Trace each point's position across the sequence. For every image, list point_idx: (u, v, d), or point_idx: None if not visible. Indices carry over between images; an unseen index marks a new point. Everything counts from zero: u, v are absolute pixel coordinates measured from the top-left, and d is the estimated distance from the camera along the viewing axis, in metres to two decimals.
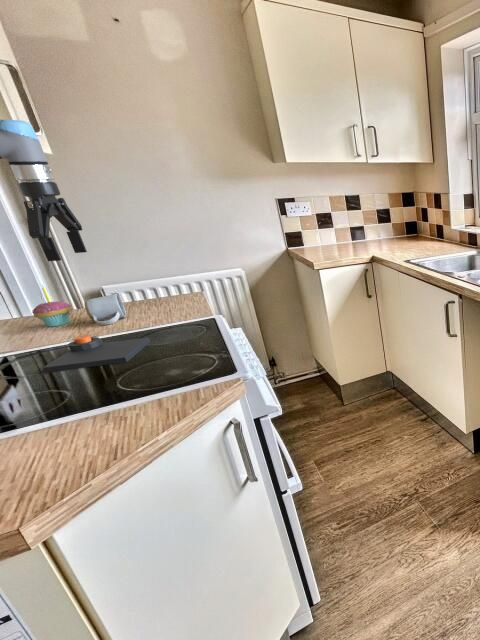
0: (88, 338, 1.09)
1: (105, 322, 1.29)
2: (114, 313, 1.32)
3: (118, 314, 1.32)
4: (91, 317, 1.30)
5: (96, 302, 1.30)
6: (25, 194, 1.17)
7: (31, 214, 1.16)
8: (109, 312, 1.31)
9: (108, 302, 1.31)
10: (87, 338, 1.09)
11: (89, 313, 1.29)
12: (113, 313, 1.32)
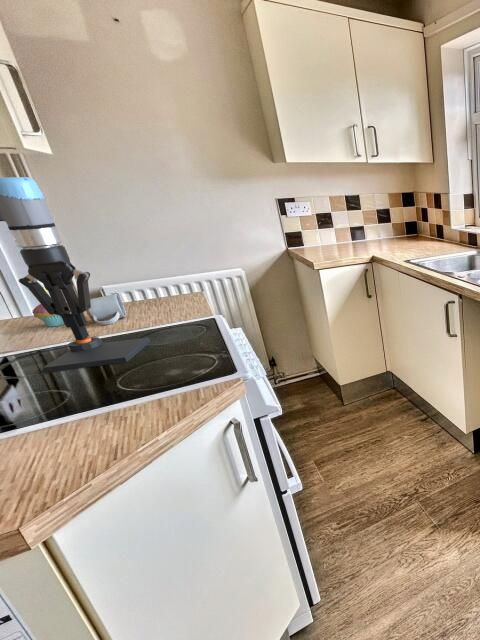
0: (89, 340, 1.09)
1: (105, 322, 1.29)
2: (114, 313, 1.32)
3: (118, 314, 1.32)
4: (91, 317, 1.30)
5: (95, 302, 1.30)
6: (60, 260, 1.01)
7: (85, 287, 1.05)
8: (109, 312, 1.31)
9: (108, 302, 1.31)
10: (88, 340, 1.09)
11: (89, 313, 1.29)
12: (113, 313, 1.32)
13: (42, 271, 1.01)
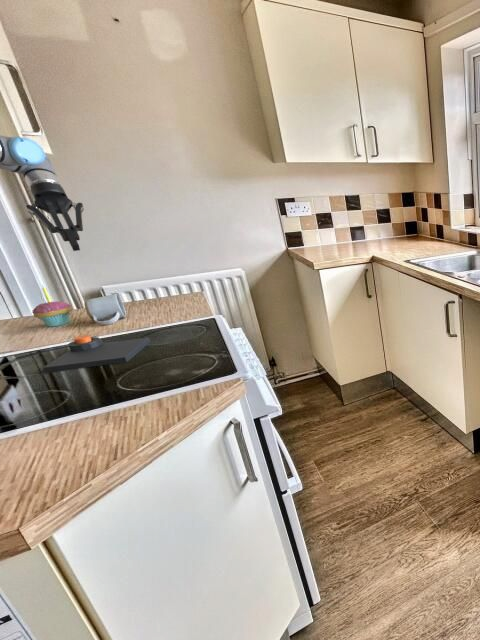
0: (88, 338, 1.09)
1: (105, 322, 1.29)
2: (114, 313, 1.32)
3: (118, 314, 1.32)
4: (91, 317, 1.30)
5: (95, 302, 1.30)
6: (64, 192, 1.36)
7: (81, 213, 1.37)
8: (109, 312, 1.31)
9: (108, 302, 1.31)
10: (87, 338, 1.09)
11: (89, 313, 1.29)
12: (113, 313, 1.32)
13: None
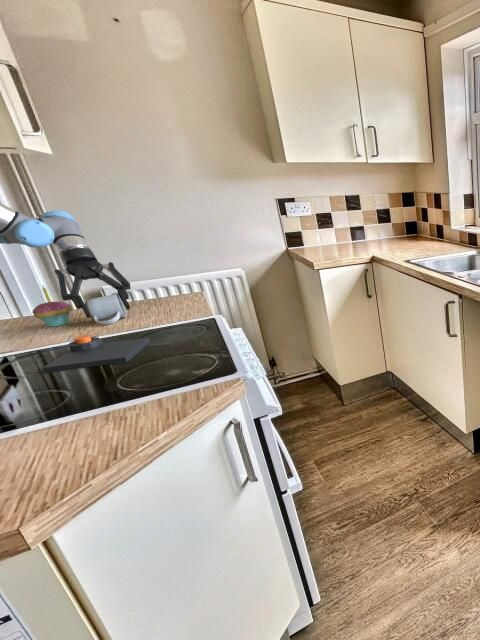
0: (88, 338, 1.09)
1: (106, 322, 1.29)
2: (115, 313, 1.32)
3: (119, 314, 1.32)
4: (92, 317, 1.30)
5: (96, 301, 1.30)
6: (94, 256, 1.34)
7: None
8: (110, 312, 1.31)
9: (109, 302, 1.31)
10: (87, 338, 1.09)
11: (90, 313, 1.29)
12: (114, 313, 1.32)
13: None
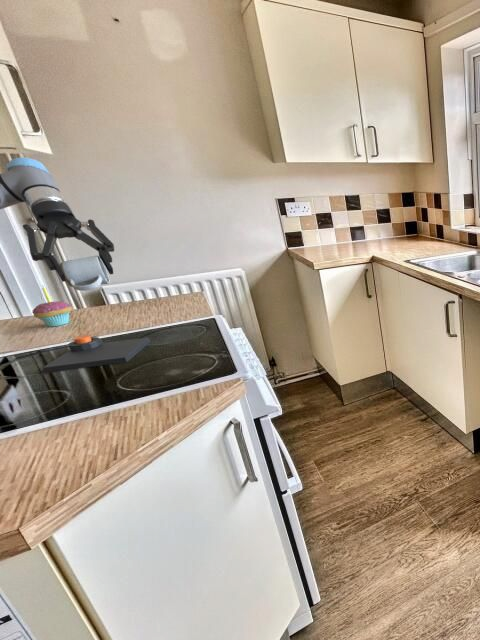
0: (88, 338, 1.09)
1: (84, 287, 1.10)
2: (95, 277, 1.13)
3: (100, 279, 1.13)
4: (68, 281, 1.10)
5: (73, 263, 1.10)
6: (71, 212, 1.15)
7: None
8: (89, 276, 1.12)
9: (89, 265, 1.12)
10: (87, 338, 1.09)
11: (65, 277, 1.09)
12: (94, 277, 1.13)
13: None
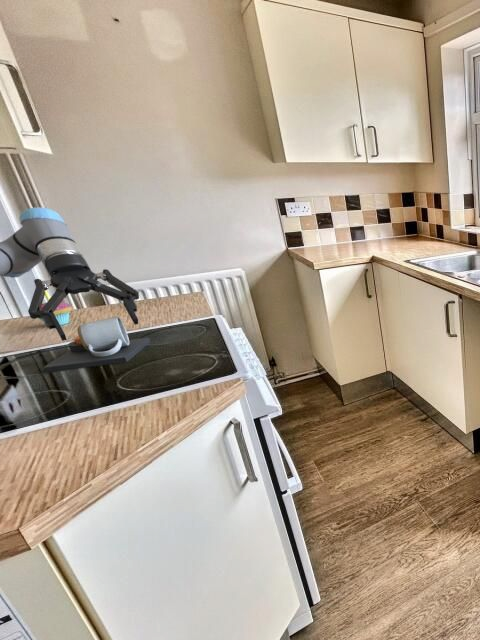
0: None
1: (104, 353, 1.03)
2: (115, 341, 1.06)
3: (120, 342, 1.07)
4: (86, 346, 1.04)
5: (92, 327, 1.04)
6: (86, 265, 1.08)
7: None
8: (109, 340, 1.06)
9: (108, 328, 1.05)
10: None
11: (83, 342, 1.03)
12: (114, 341, 1.06)
13: None
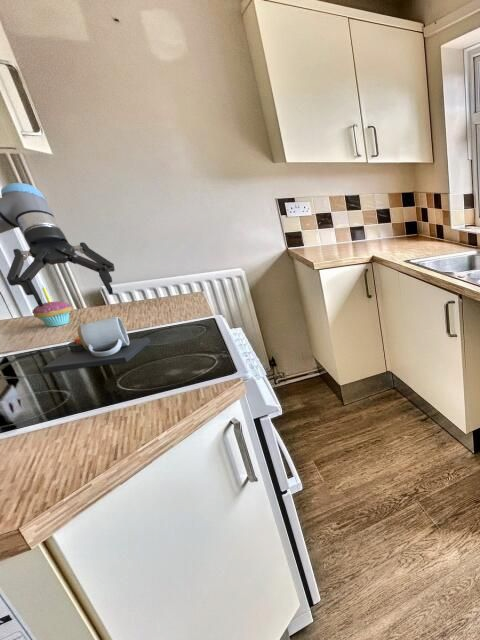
0: None
1: (104, 353, 1.03)
2: (115, 341, 1.06)
3: (120, 342, 1.07)
4: (86, 346, 1.04)
5: (92, 327, 1.04)
6: (64, 237, 1.14)
7: None
8: (109, 340, 1.06)
9: (108, 328, 1.05)
10: None
11: (83, 342, 1.03)
12: (114, 341, 1.06)
13: (47, 249, 1.11)
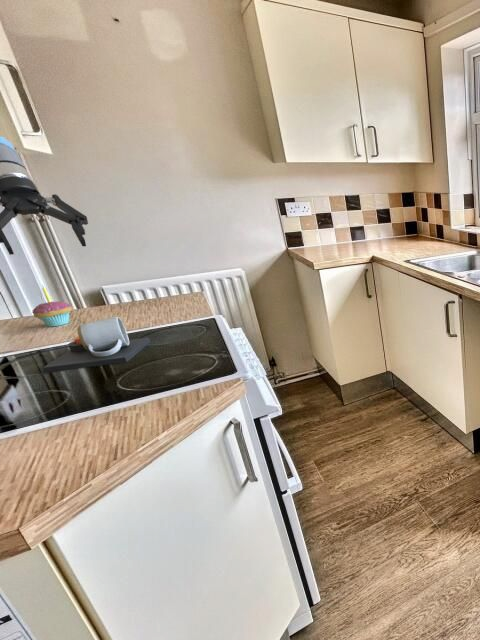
0: None
1: (104, 353, 1.03)
2: (115, 341, 1.06)
3: (120, 342, 1.07)
4: (86, 346, 1.04)
5: (92, 327, 1.04)
6: (35, 188, 1.14)
7: None
8: (109, 340, 1.06)
9: (108, 328, 1.05)
10: None
11: (83, 342, 1.03)
12: (113, 341, 1.06)
13: (18, 199, 1.11)
